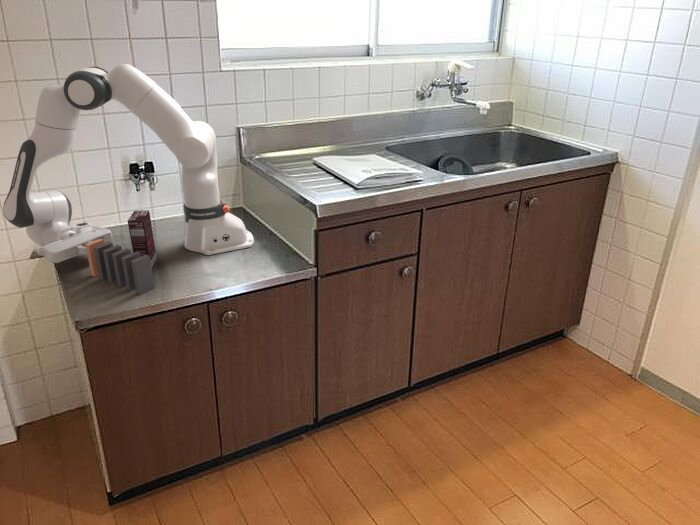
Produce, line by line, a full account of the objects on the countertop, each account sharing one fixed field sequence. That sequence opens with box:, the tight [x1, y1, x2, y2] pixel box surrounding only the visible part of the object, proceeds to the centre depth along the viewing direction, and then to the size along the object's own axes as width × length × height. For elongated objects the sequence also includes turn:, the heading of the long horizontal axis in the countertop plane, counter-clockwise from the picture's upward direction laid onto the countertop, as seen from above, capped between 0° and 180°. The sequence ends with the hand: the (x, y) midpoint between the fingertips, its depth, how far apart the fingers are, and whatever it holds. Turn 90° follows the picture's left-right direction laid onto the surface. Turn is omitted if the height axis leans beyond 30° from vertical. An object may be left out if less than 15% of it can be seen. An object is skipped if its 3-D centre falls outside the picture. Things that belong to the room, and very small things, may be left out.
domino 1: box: [85, 239, 104, 278], centre depth 175 cm, size 2×5×10 cm, turn 147°
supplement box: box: [127, 209, 158, 268], centre depth 179 cm, size 9×5×16 cm, turn 5°
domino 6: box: [131, 255, 156, 296], centre depth 165 cm, size 2×5×10 cm, turn 147°
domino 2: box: [94, 242, 114, 281], centre depth 173 cm, size 2×5×10 cm, turn 147°
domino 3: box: [103, 244, 123, 285], centre depth 171 cm, size 2×5×10 cm, turn 147°
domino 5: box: [121, 251, 141, 292], centre depth 167 cm, size 2×5×10 cm, turn 147°
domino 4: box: [112, 247, 132, 288], centre depth 169 cm, size 2×5×10 cm, turn 147°
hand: (94, 250), depth 174 cm, fingers closed
